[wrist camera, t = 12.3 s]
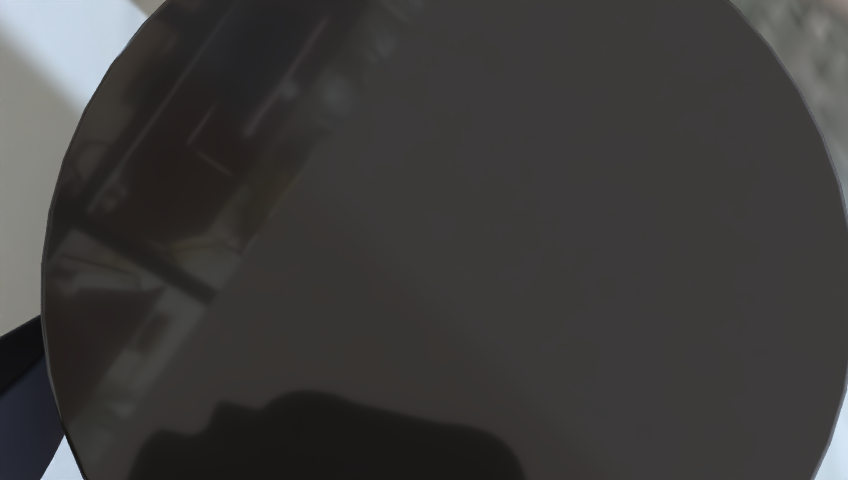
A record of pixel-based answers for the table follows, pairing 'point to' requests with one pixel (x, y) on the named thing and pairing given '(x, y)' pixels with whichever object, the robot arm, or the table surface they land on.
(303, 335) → the spice jar
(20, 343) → the robot arm
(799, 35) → the table surface
